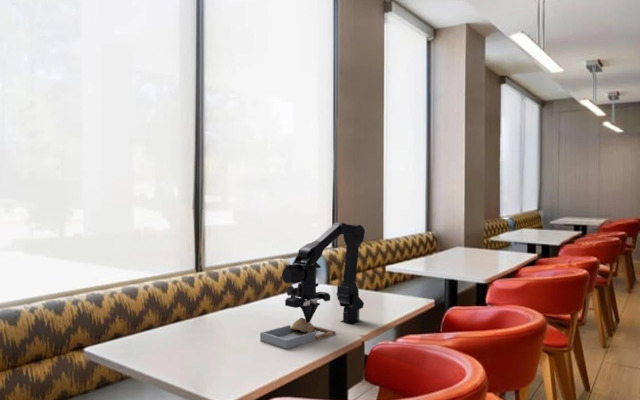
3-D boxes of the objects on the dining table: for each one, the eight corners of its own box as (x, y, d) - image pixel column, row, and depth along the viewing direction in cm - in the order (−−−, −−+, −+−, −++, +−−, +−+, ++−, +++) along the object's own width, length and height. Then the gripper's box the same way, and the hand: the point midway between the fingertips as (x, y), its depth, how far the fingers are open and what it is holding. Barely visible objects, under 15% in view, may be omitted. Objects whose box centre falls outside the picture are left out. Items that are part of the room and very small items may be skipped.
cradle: (304, 327, 194) (304, 323, 194) (335, 335, 182) (335, 331, 182) (286, 332, 187) (286, 328, 187) (317, 341, 176) (317, 336, 176)
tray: (289, 332, 186) (289, 325, 186) (315, 340, 176) (315, 332, 176) (260, 340, 176) (260, 332, 176) (286, 349, 166) (286, 340, 166)
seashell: (304, 332, 180) (292, 316, 185) (298, 342, 183) (287, 327, 187) (320, 327, 186) (308, 312, 190) (315, 337, 188) (303, 322, 193)
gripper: (310, 275, 196) (310, 314, 196) (275, 281, 182) (275, 322, 182) (331, 278, 188) (331, 319, 188) (295, 284, 175) (295, 328, 175)
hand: (308, 322), depth 184 cm, fingers closed
